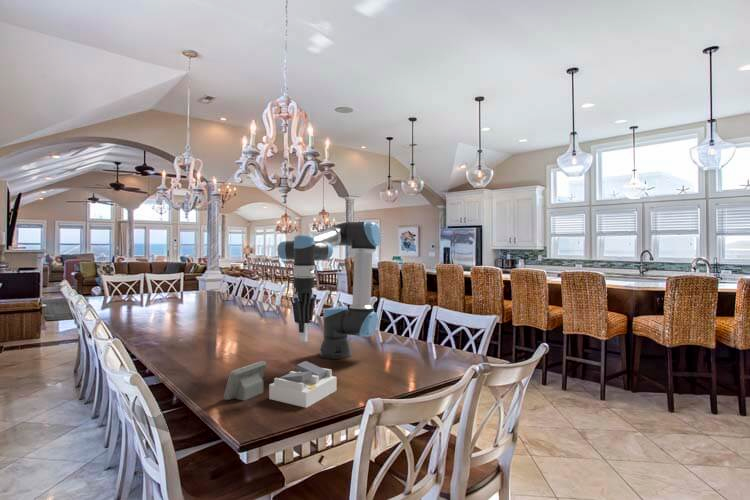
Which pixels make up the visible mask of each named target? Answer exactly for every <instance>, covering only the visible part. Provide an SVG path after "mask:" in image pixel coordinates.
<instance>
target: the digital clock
mask: <svg viewBox="0 0 750 500" xmlns="http://www.w3.org/2000/svg"><path fill="white" fill-rule="evenodd" d="M266 367H267V362H266V361H265V360H261V361H257V362H253V363H251V364H248V365H246V366H243V367H239V368H237V369H234V370H232V371H230V373H229V376H228V380H227V383H226V387H225V390H224V395H223V399H224V400H225V401H229V400H234V399H236V400H239V401H244V402H245V401H247V400H249V399H252V398H255V397H257V396H259V395H261V394H263V393H264V379H263V378H264V374H265V371H266Z"/></svg>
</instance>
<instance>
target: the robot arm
mask: <svg viewBox="0 0 750 500" xmlns="http://www.w3.org/2000/svg"><path fill="white" fill-rule="evenodd" d="M293 239H294V240H285V241H281V242H280V243H279V244H278V245H277V256H278V258H280V259H281V260H286V261H292V260H293V277H294V278H293V288H294V289H295V292H294V295H293V297H292V296H291V297H290V299H289V300H290V302H291V305H292V306H291V307H292V313H293V318H294V322H295V323H296V324H298V334H299V335H298V336H299V337H298V338H299V340H298V341H299V342H304V343H305V342H308V339H309V337H308V336H309V334H308V333H309V332H308V331H309V324H311V323H312V320H313V317H314V309H315V304H316V299H317V293H316V294H314V292H313V288H314V287H315V278H314V277H315V261H322V262H323V261H326V260H327V261H328V260H329V259H331V257H333V253H334V249H333V247H338V246H341V247H342V246H346V247H351V249H350V250H351V251H352V253H354V254H353V255H354V256H353V259H354V260H353V280H352V281H353V282H352V283H353V284H352V285H353V286H352V304H350V305H349V306H348V307H347V306H345V305H343V306H341V305H340V306H333V307H329V308H326V309H324V311H323V316H322V319H323V338H322V339H323V340H322V343H321V346H320V348H319V356H320V357H322V358H325V359H331V360H332V359H334V360H335V359H344V358H348V357H350V356H351V355H352V349H351V345H350V343H349V340H348V338H349V337H348V336H356V337H361V338H363V337H366V338H369V337H371V336H373V334H374V333H375V332H376V329H377V328H378V323H379V316H378V313H377V312H375V310H374V309H375V308H374V306H373V305H372V304H371V303H372V301H371V300H372V299H371V298H372V279H373V278H372V276H373V275H372V274H373V272H372V271H373V270H372V269H373V254H374V253H375V252H376V250H377V247H378V246H380V244H381V241H382V236H381V229H380V228H379V226H378V224H377V223H376V222H375V221H365V220H364V221H346V222H341V223H338V224H333V225H331V226H328V227H327V228H325V229H324V230H323V231H320V232H317V233H313V234H310V235H307V234H306V235H302V234H300V235H296V236H295V237H294V238H293Z"/></svg>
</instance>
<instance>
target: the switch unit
mask: <svg viewBox="0 0 750 500" xmlns="http://www.w3.org/2000/svg"><path fill="white" fill-rule="evenodd" d="M322 368H323V369H325V370H327V375H326V376H325V377H323V378H321V379H319V376H317V375H312V377H311V378H309V379H307V380H305V381H303V382H295V381H290V380H285V379H280V377H275V378H274V379H273V382H272V383H270V384H268V385H269V386H268V387H269V390H268V391H269V392H268V395H269V397H268V398H269V399H268V400H271V401H272V400H273V401H276V402H281V403H285V404H290V405H293V406H297V407H302V408H306V409H307V408H308V407H310V406H312V405H314V404H316V403H317V402H319V401H320V400H322V399H324V398H326V397H328V396H330V395H331V394H332V393H335V392H337V385H338V384H337V383H338V380H337V379H338V378H337V377H338V376H334V375H333V371H332V369H331V368H324V367H322ZM298 372H300V371H297V370H295V371H294V370H291V371H289V373H298ZM289 373H288V374H289Z"/></svg>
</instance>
